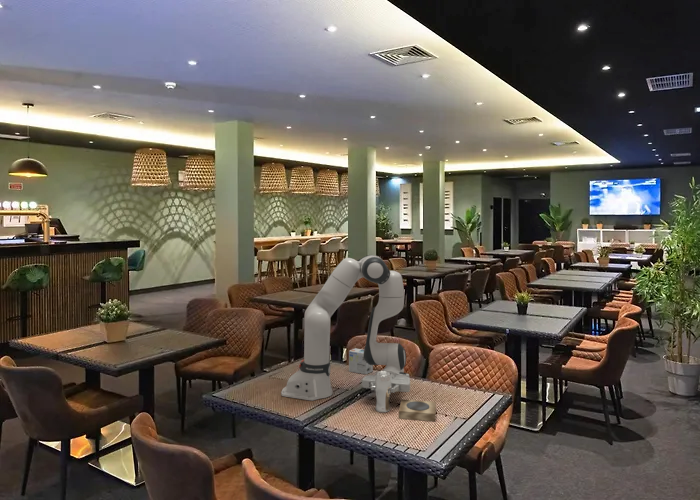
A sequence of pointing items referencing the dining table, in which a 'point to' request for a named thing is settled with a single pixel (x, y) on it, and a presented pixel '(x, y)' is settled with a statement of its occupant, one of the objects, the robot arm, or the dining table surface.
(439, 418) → the dining table surface
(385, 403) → the beer glass
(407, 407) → the brass stand
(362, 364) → the light bulb box
